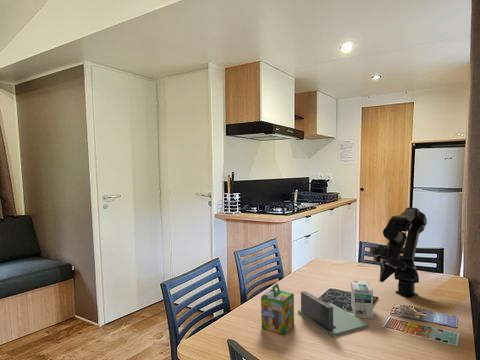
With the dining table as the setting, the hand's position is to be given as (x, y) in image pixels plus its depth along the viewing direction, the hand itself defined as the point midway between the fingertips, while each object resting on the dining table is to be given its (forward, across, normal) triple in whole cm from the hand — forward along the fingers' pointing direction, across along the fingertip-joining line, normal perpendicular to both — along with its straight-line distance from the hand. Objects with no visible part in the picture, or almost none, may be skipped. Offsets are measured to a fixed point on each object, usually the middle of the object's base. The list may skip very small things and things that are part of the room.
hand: (381, 281), depth 129 cm
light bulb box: (+14, +3, -4) cm, 15 cm away
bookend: (+23, +12, -20) cm, 33 cm away
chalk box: (+31, +15, -32) cm, 47 cm away
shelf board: (+21, +10, -15) cm, 27 cm away
